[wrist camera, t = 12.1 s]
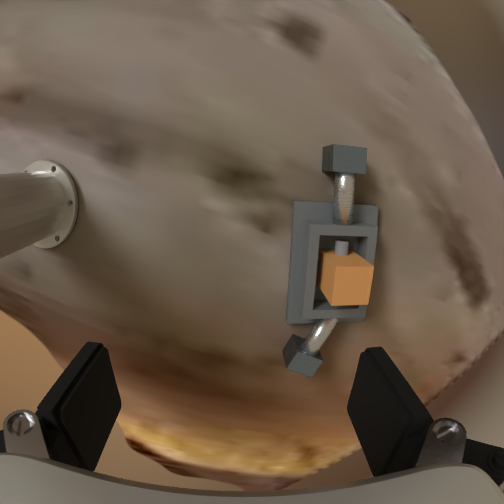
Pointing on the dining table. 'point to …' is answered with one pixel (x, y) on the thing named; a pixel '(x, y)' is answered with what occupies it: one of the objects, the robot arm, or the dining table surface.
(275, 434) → the dining table surface
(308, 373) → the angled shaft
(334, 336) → the dining table surface
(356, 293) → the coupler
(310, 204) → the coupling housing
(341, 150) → the straight shaft
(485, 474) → the robot arm
